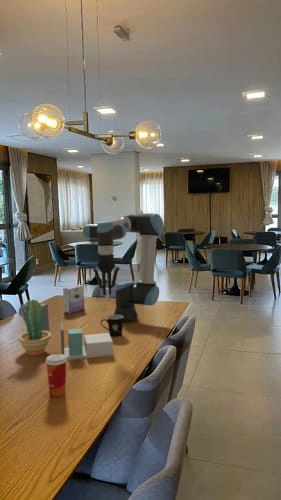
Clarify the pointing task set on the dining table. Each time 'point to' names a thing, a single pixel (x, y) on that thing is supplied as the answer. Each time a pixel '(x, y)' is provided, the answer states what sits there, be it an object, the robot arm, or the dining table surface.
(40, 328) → the potted cactus
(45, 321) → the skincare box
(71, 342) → the carton
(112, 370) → the dining table surface
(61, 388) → the paper cup
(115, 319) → the coffee mug
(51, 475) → the dining table surface
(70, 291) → the candy box
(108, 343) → the display stand
